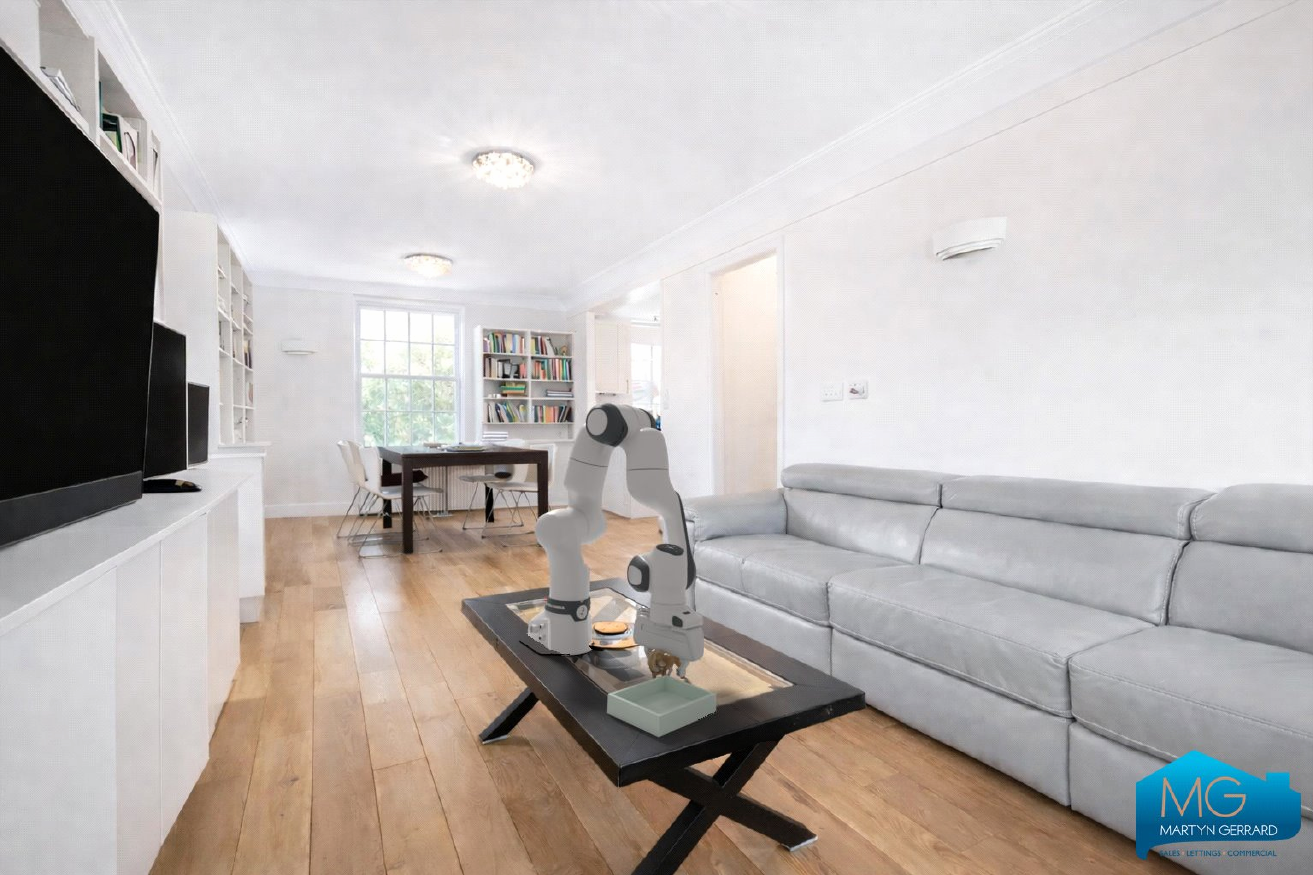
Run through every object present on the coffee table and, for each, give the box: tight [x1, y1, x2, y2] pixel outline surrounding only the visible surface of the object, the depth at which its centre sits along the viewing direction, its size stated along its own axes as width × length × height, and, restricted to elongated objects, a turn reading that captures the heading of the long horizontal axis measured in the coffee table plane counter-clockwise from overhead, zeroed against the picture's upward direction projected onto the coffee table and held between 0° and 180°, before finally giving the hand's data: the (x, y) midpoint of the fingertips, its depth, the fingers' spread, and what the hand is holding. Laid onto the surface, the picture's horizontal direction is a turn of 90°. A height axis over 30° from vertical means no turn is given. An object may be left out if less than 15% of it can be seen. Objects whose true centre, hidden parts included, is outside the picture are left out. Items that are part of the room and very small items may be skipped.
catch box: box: [606, 675, 718, 738], centre depth 135 cm, size 15×18×4 cm
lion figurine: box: [647, 650, 686, 679], centre depth 154 cm, size 15×5×9 cm, turn 152°
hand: (666, 670), depth 152 cm, fingers open, 8 cm apart
